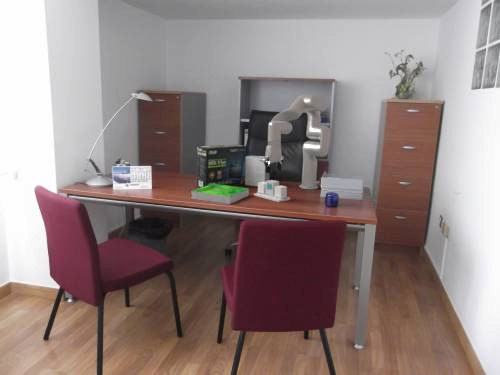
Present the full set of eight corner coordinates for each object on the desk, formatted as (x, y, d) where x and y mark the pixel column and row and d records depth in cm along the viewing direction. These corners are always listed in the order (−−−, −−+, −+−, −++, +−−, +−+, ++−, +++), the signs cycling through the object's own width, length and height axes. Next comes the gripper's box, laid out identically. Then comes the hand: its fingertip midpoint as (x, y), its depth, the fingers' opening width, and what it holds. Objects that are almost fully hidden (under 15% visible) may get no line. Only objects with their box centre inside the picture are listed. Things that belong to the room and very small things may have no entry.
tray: (191, 199, 239) (191, 191, 238) (212, 191, 261) (212, 183, 260) (229, 205, 229) (230, 196, 228) (248, 196, 251) (248, 188, 250)
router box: (205, 189, 263) (206, 148, 258) (195, 186, 271) (195, 146, 266) (246, 183, 288) (247, 145, 282) (235, 180, 296) (236, 143, 290)
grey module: (271, 192, 251) (271, 179, 250) (278, 194, 247) (279, 181, 246) (265, 193, 248) (265, 180, 246) (272, 195, 244) (273, 182, 242)
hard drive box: (269, 185, 282) (270, 157, 278) (264, 187, 275) (265, 158, 271) (249, 183, 289) (250, 155, 285) (244, 184, 282) (245, 156, 278)
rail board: (264, 193, 259) (265, 180, 257) (290, 199, 244) (290, 186, 242) (253, 195, 252) (254, 182, 250) (278, 202, 237) (279, 188, 235)
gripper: (279, 141, 250) (278, 169, 253) (259, 143, 238) (258, 172, 242) (288, 142, 244) (287, 171, 248) (268, 145, 233) (267, 174, 237)
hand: (273, 171), depth 245 cm, fingers open, 9 cm apart
